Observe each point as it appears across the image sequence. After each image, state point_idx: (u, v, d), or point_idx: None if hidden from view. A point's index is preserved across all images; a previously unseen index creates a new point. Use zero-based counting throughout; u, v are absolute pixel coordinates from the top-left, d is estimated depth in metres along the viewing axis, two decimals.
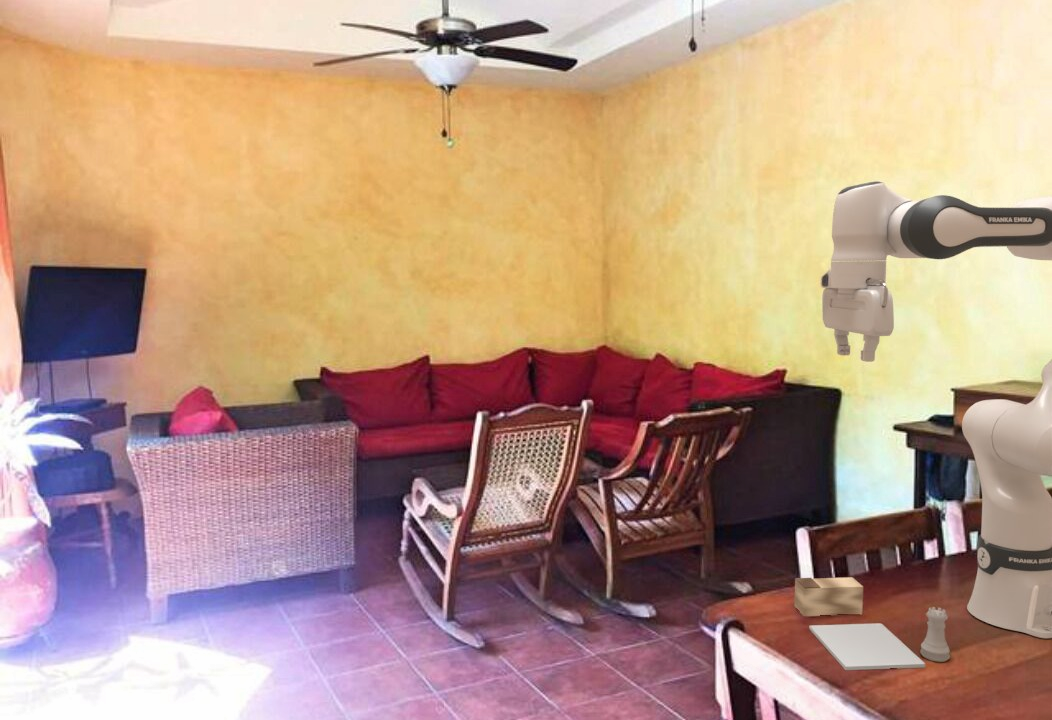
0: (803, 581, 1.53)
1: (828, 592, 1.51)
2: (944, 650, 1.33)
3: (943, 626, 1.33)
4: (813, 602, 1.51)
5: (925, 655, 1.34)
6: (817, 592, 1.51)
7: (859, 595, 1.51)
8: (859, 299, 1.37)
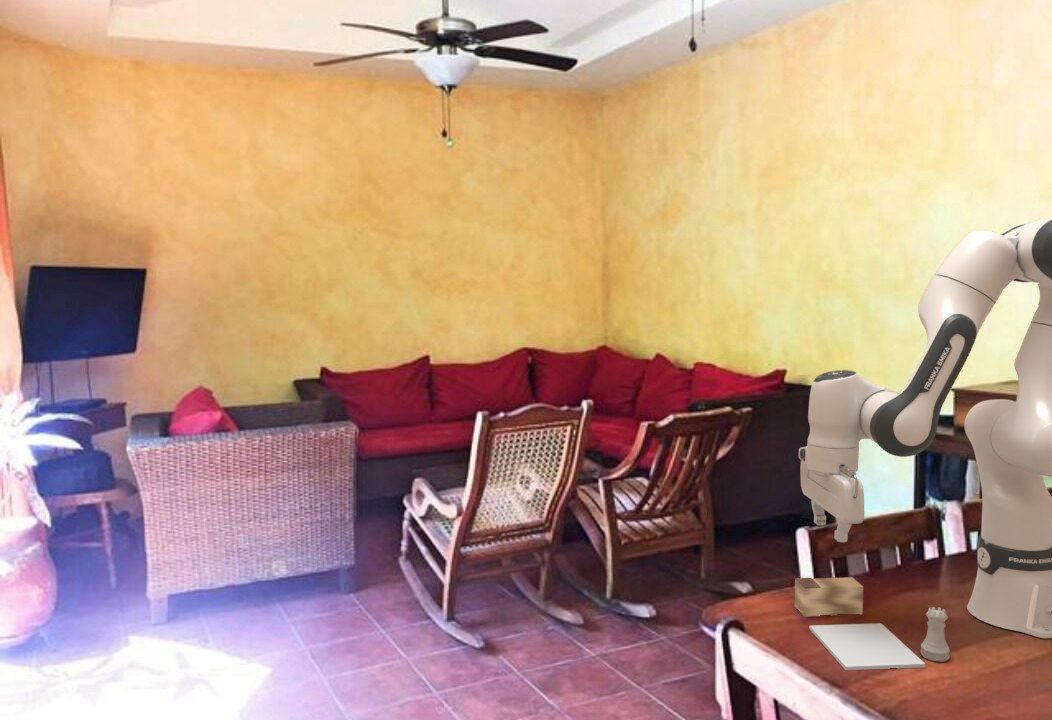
0: (803, 581, 1.53)
1: (828, 592, 1.51)
2: (943, 650, 1.33)
3: (943, 626, 1.33)
4: (813, 602, 1.51)
5: (925, 655, 1.34)
6: (817, 592, 1.51)
7: (859, 595, 1.51)
8: (833, 484, 1.46)
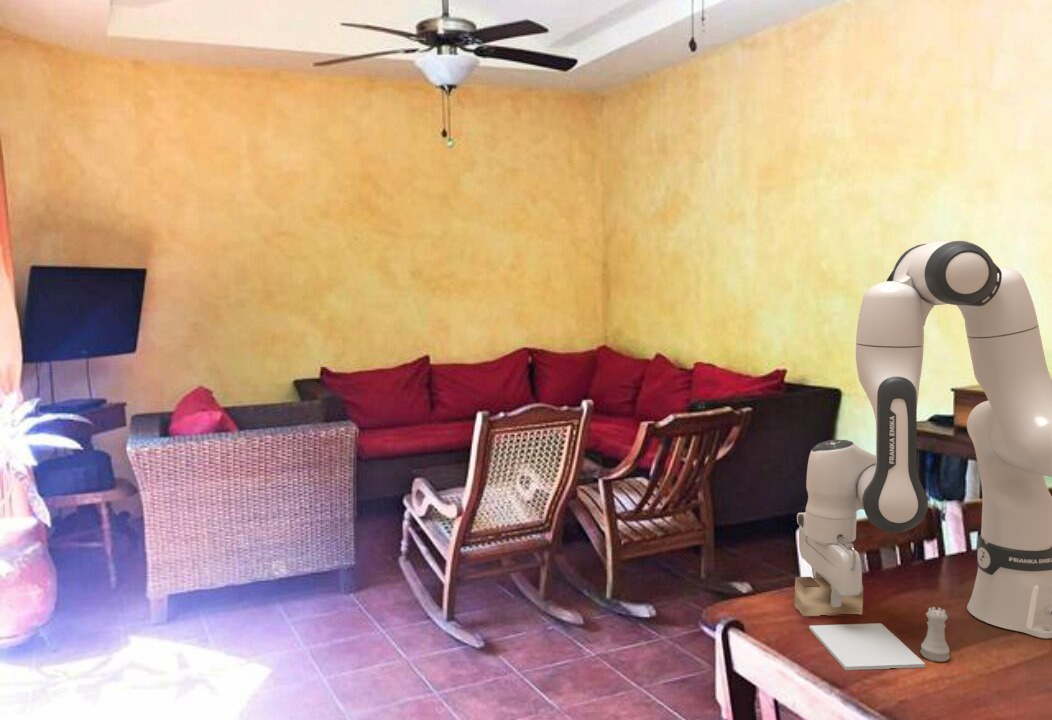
0: (803, 580, 1.53)
1: (828, 591, 1.51)
2: (944, 650, 1.33)
3: (943, 626, 1.33)
4: (813, 601, 1.51)
5: (925, 655, 1.34)
6: (817, 591, 1.51)
7: (859, 594, 1.51)
8: (831, 554, 1.47)
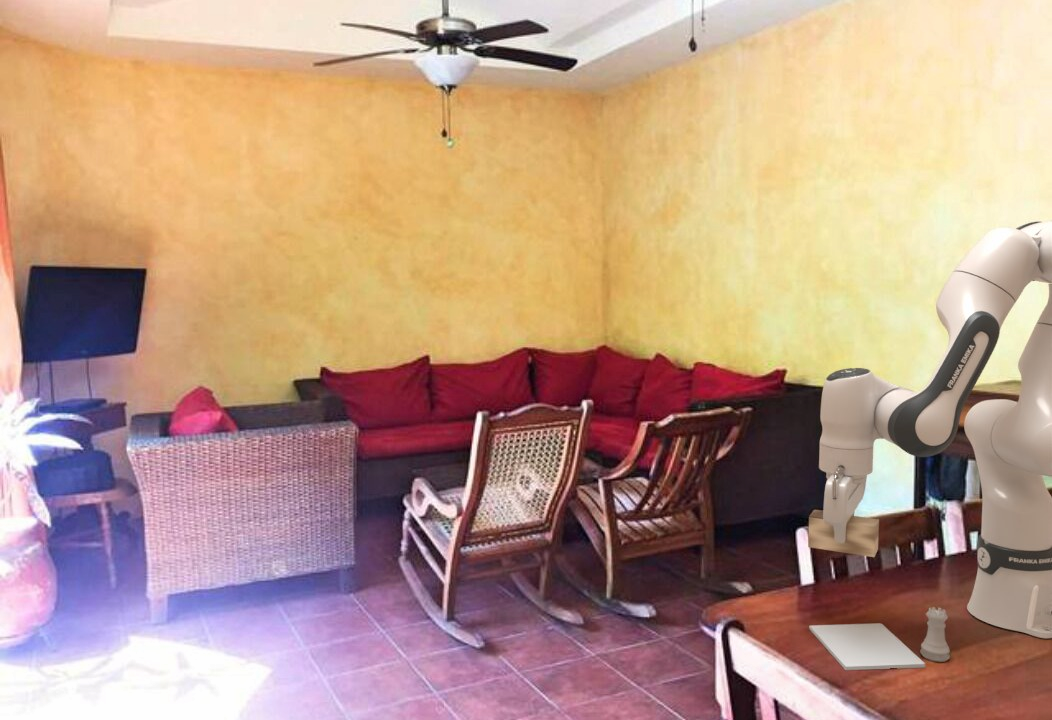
0: (817, 512, 1.48)
1: None
2: (944, 650, 1.33)
3: (943, 626, 1.33)
4: (818, 533, 1.46)
5: (925, 655, 1.34)
6: (823, 524, 1.45)
7: (871, 535, 1.41)
8: None
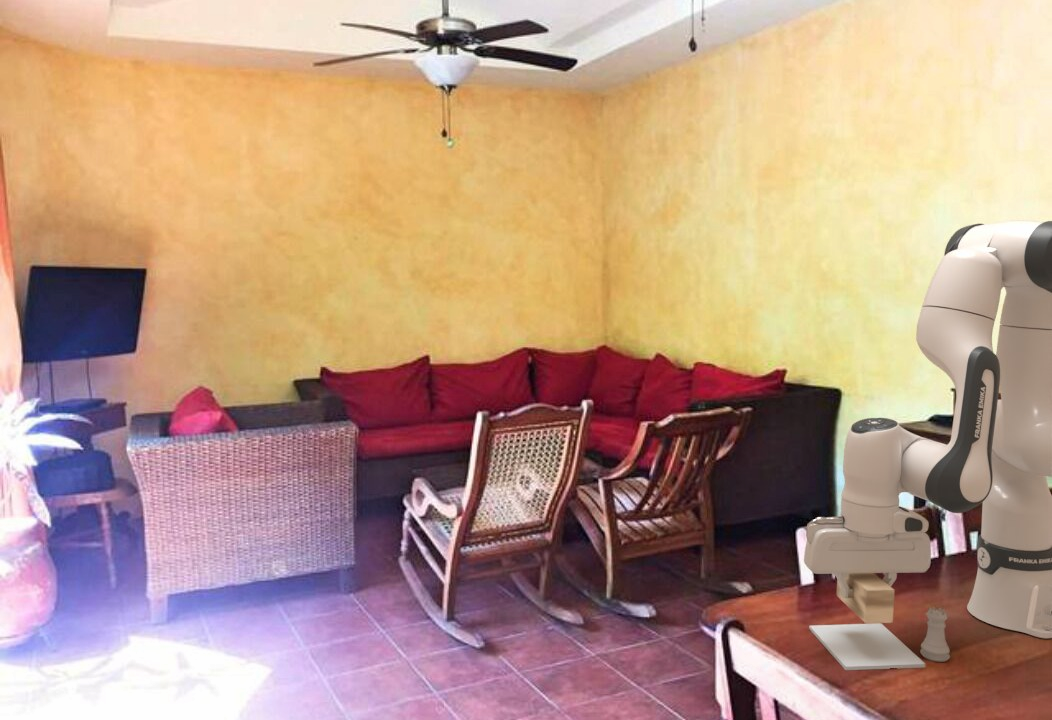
0: None
1: (849, 580, 1.38)
2: (943, 650, 1.33)
3: (943, 626, 1.33)
4: None
5: (925, 655, 1.34)
6: None
7: (865, 599, 1.32)
8: None
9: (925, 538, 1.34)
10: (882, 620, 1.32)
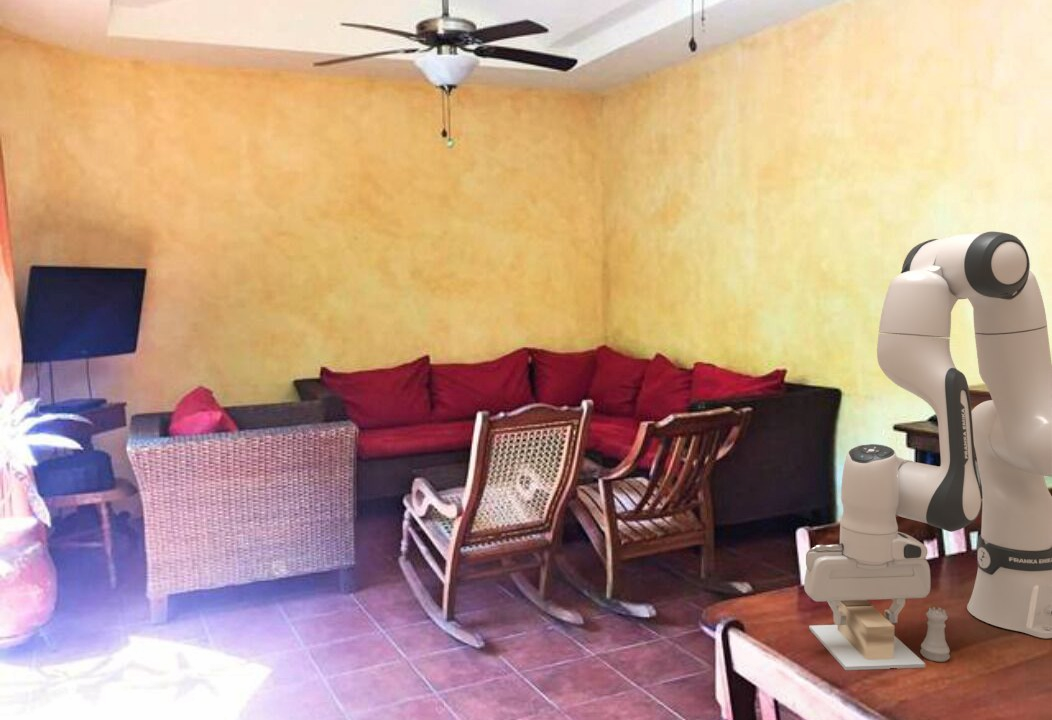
0: (856, 600, 1.43)
1: (849, 616, 1.39)
2: (944, 650, 1.33)
3: (943, 626, 1.33)
4: None
5: (925, 655, 1.34)
6: (844, 610, 1.41)
7: (865, 635, 1.33)
8: None
9: (924, 564, 1.35)
10: (883, 656, 1.33)
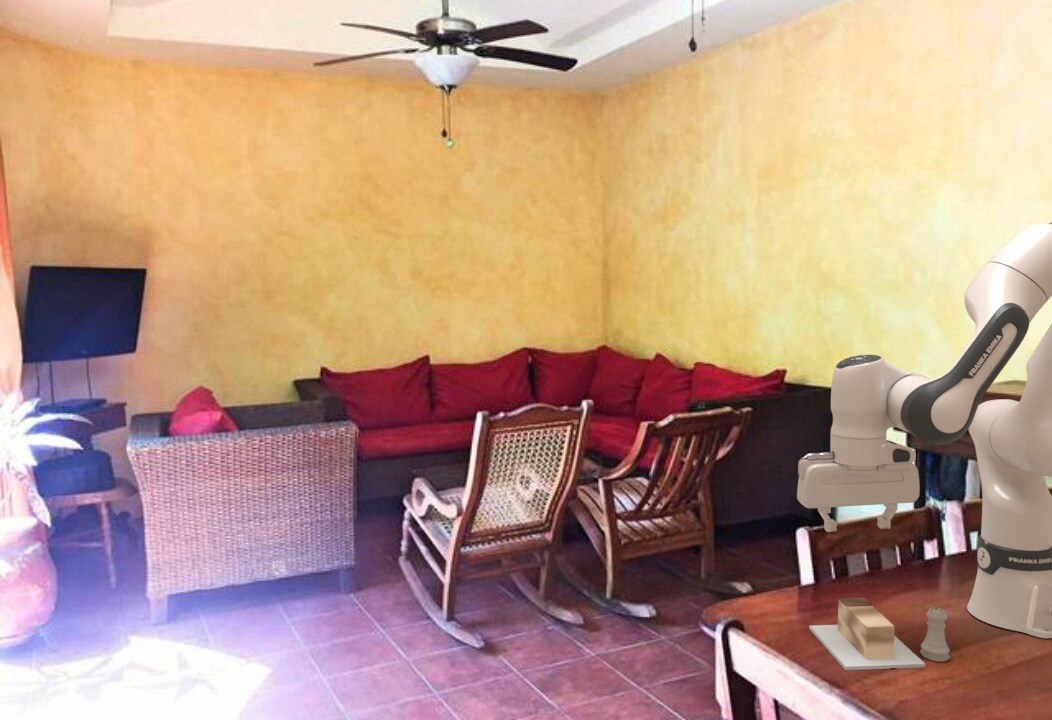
0: (856, 600, 1.43)
1: (849, 616, 1.39)
2: (944, 650, 1.33)
3: (943, 626, 1.33)
4: (842, 618, 1.42)
5: (925, 655, 1.34)
6: (844, 610, 1.41)
7: (865, 635, 1.33)
8: None
9: (913, 468, 1.38)
10: (883, 656, 1.33)
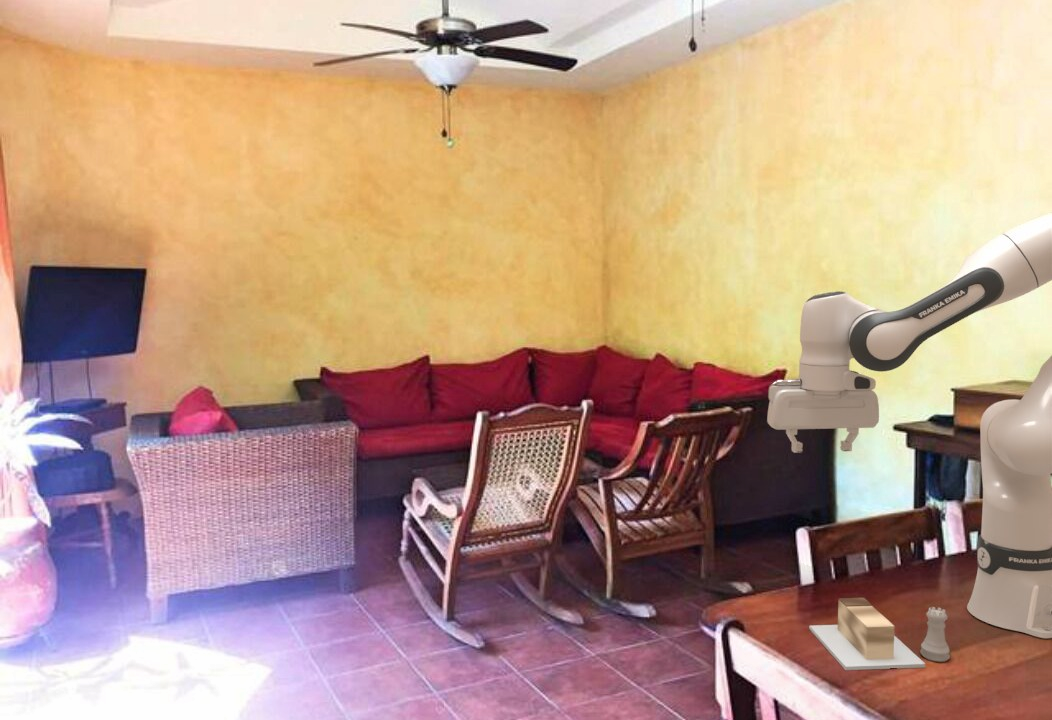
0: (856, 600, 1.43)
1: (849, 616, 1.39)
2: (944, 650, 1.33)
3: (943, 626, 1.33)
4: (842, 618, 1.42)
5: (925, 655, 1.34)
6: (844, 610, 1.41)
7: (865, 635, 1.33)
8: None
9: (873, 395, 1.52)
10: (883, 656, 1.33)
